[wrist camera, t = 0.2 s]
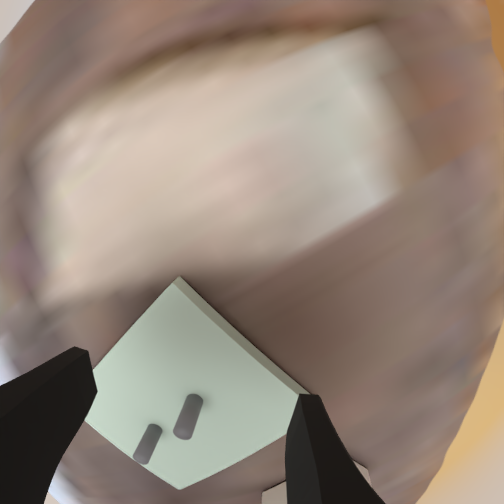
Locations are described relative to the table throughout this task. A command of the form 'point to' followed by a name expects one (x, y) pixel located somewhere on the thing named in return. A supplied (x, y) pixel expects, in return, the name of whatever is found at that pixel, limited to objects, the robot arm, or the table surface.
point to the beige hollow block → (277, 496)
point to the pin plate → (189, 391)
